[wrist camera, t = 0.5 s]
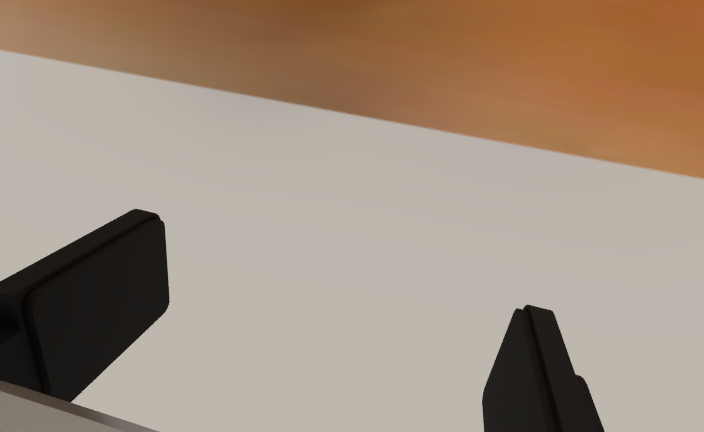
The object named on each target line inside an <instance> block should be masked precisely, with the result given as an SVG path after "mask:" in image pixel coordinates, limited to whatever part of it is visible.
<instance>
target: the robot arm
mask: <svg viewBox="0 0 704 432" xmlns="http://www.w3.org/2000/svg"><path fill="white" fill-rule="evenodd" d="M168 305H169V286H168V270H167V254H166V240H165V226H164V223H163V221H161V220H160V217H159V215H157V214H156V213H151V212H148V211H143V210H139V209H134V210H131V211H129V212H128V213H126V214H124V215H122V216H120V217H118V218H117V219H115V220H113V221H111V222H109V223H107V224H105V225H104V226H102V227H100V228H98V229H96V230H94V231H93V232H91V233H89V234H87V235H85V236H83V237H82V238H80V239H78V240H76V241H74V242H72V243H70V244H69V245H67V246H65V247H63V248H61V249H59V250H58V251H56V252H54V253H52V254H50V255H48V256H46V257H45V258H43V259H41V260H39V261H37V262H35V263H34V264H32V265H30V266H28V267H26V268H25V269H22V270H21V271H19V272H17V273H15V274H13V275H11V276H10V277H8V278H6V279H4V280H2V281H0V432H158V431H155V430H152V429H149V428H146V427H143V426H140V425H137V424H134V423H131V422H128V421H125V420H122V419H119V418H116V417H113V416H110V415H107V414H104V413H100V412H97V411H94V410H91V409H88V408H85V407H82V406H79V405H76V404H73V403H71V402H72V400H74V399H75V398H76V397H77V395H79V394H80V393H81V392H82V391H83V390H84V389H85V388H86V387H87V386H88V385H89V384H90V383H92V382H93V380H95V379H96V378H97V377H98V376H99V375H100V374H101V373H102V372H103V371H104V370H105V369H106V368H107V367H108V366H109V365H110V364H111V363H112V362H113V361H114V360H116V359H117V358H118V357H119V356H120V355H121V354H122V353H123V352H124V351H125V350H126V349H127V348H128V347H129V346H130V345H131V344H132V343H133V342H134V341H135V340H137V339H138V338H139V337H140V336H141V335H142V334H143V333H144V332H145V331H146V330H147V329H148V328H149V327H150V326H151V325H152V324H153V323H154V322H155V321H156V320H158V318H160V317H161V316H162V315H163V314H164V313H165V311H166V310H167V308H168ZM482 405H483V420H484V432H604V429H603V426H602V424H601V421H600V418H599V416H598V413H597V410H596V408H595V405H594V402H593V400H592V397H591V394H590V391H589V389H588V386H587V384H586V382H585V380H584V379H583V378H582V377H581V376H578V375H575V373H574V369H573V367H572V364H571V361H570V358H569V355H568V352H567V349H566V347H565V344H564V341H563V338H562V335H561V332H560V330H559V327H558V324H557V321H556V318H555V315H554V313H553V311H551V310H547V309H543V308H539V307H535V306H531V305H526V306H525V307H524V308H523V310H522V309H518V308H517V309H516V310H515V311H514V313H513V316H512V319H511V321H510V324H509V326H508V329H507V331H506V334H505V337H504V339H503V342H502V344H501V347H500V350H499V352H498V355H497V357H496V360H495V362H494V365H493V368H492V370H491V373H490V375H489V378H488V381H487V383H486V386H485V388H484V392H483V400H482Z"/></svg>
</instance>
